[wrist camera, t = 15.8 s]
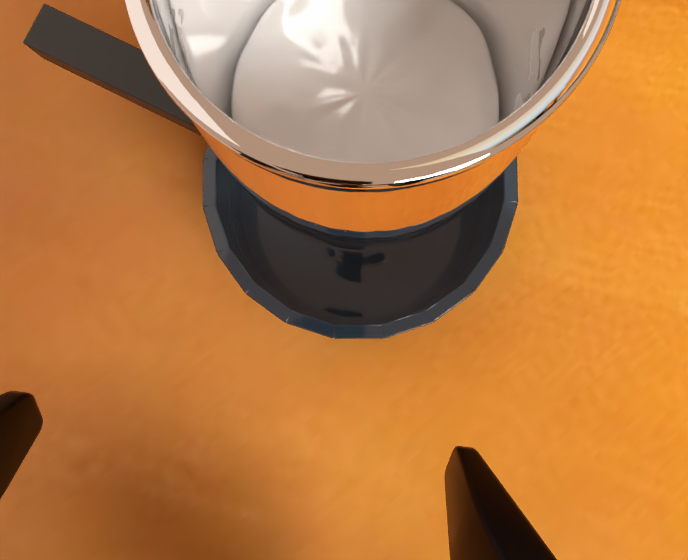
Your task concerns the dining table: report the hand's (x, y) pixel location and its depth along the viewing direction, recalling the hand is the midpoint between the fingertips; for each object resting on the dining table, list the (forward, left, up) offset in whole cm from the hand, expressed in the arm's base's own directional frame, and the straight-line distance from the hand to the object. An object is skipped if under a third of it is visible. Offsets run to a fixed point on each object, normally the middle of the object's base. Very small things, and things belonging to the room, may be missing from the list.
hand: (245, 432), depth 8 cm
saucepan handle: (+15, +3, -9) cm, 17 cm away
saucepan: (+7, -5, -12) cm, 14 cm away
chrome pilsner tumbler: (+6, -5, -12) cm, 14 cm away
